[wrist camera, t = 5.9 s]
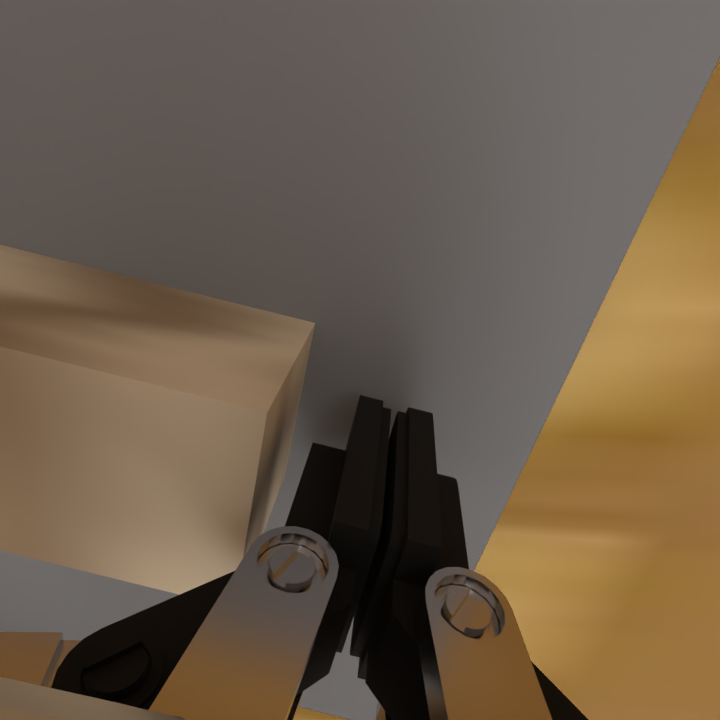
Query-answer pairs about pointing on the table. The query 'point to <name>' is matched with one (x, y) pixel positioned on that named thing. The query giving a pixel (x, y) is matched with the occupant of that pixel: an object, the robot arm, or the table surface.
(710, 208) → the table surface
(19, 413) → the t block
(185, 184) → the mat
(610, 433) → the table surface
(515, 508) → the table surface
